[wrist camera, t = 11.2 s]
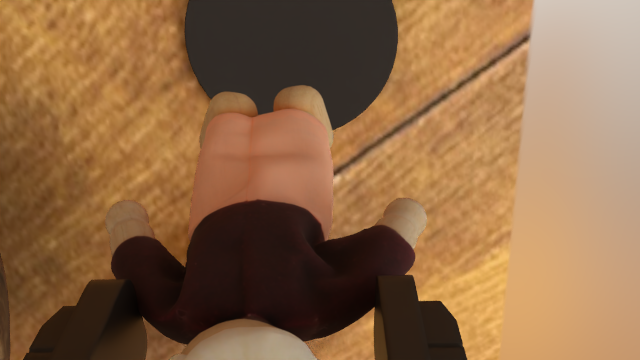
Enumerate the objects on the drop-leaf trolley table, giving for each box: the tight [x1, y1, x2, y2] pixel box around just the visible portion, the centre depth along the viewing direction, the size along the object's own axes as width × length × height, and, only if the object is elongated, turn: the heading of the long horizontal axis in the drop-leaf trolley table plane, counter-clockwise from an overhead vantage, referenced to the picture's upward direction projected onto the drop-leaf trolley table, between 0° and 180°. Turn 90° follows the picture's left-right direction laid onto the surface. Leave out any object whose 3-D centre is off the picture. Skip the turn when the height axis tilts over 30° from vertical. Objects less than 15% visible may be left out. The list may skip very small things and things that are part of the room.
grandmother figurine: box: [105, 85, 427, 360], centre depth 13 cm, size 8×4×13 cm, turn 104°
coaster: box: [185, 0, 398, 130], centre depth 27 cm, size 10×10×1 cm
